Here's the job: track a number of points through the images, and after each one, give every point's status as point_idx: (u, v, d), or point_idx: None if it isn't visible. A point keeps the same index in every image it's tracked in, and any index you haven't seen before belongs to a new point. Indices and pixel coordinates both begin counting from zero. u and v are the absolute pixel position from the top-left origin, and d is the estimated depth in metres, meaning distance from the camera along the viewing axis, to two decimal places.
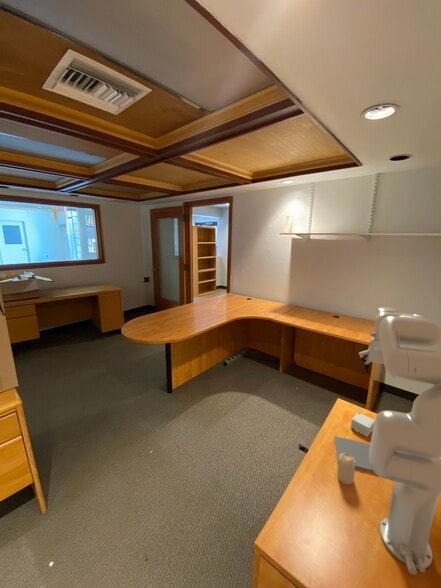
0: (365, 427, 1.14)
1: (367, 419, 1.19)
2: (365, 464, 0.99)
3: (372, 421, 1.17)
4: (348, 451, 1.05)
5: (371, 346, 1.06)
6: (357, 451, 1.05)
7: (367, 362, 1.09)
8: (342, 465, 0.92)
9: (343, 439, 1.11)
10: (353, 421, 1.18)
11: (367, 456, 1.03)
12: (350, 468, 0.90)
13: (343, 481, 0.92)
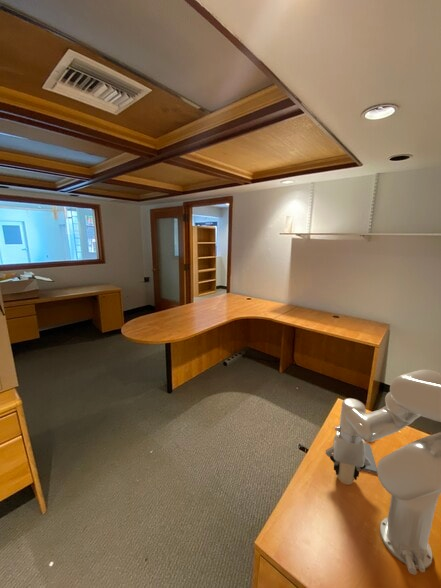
0: None
1: None
2: None
3: None
4: None
5: (336, 443, 0.91)
6: None
7: (336, 463, 0.93)
8: (342, 465, 0.92)
9: None
10: None
11: (367, 456, 1.03)
12: (350, 468, 0.90)
13: (343, 481, 0.92)
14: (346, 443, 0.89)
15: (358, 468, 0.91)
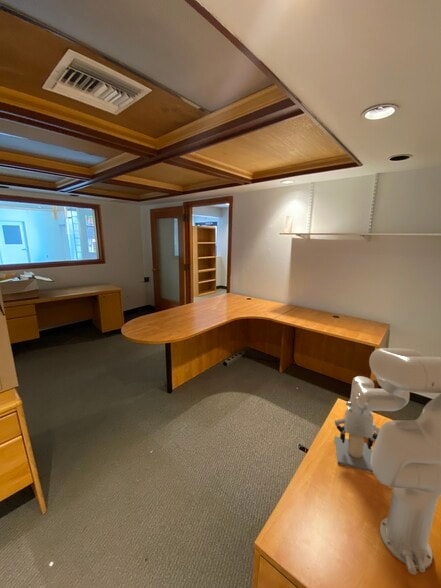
0: None
1: None
2: (365, 464, 0.99)
3: None
4: None
5: (347, 417, 1.01)
6: None
7: (343, 432, 1.03)
8: (352, 440, 1.02)
9: None
10: None
11: (367, 456, 1.03)
12: (359, 443, 1.00)
13: (353, 454, 1.02)
14: (356, 416, 0.99)
15: (372, 438, 1.00)
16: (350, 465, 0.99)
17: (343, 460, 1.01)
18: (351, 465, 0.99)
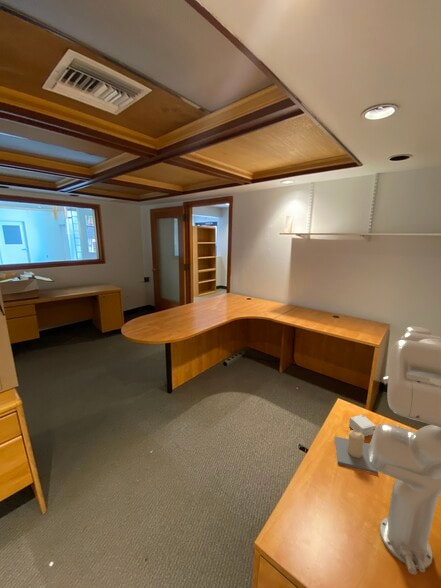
0: (359, 427, 1.14)
1: (367, 422, 1.17)
2: (365, 464, 0.99)
3: (371, 425, 1.15)
4: None
5: None
6: None
7: None
8: (352, 440, 1.02)
9: (343, 439, 1.11)
10: (351, 419, 1.19)
11: (367, 456, 1.03)
12: (359, 443, 1.00)
13: (353, 454, 1.02)
14: None
15: None
16: (350, 465, 0.99)
17: (343, 460, 1.01)
18: (351, 465, 0.99)
